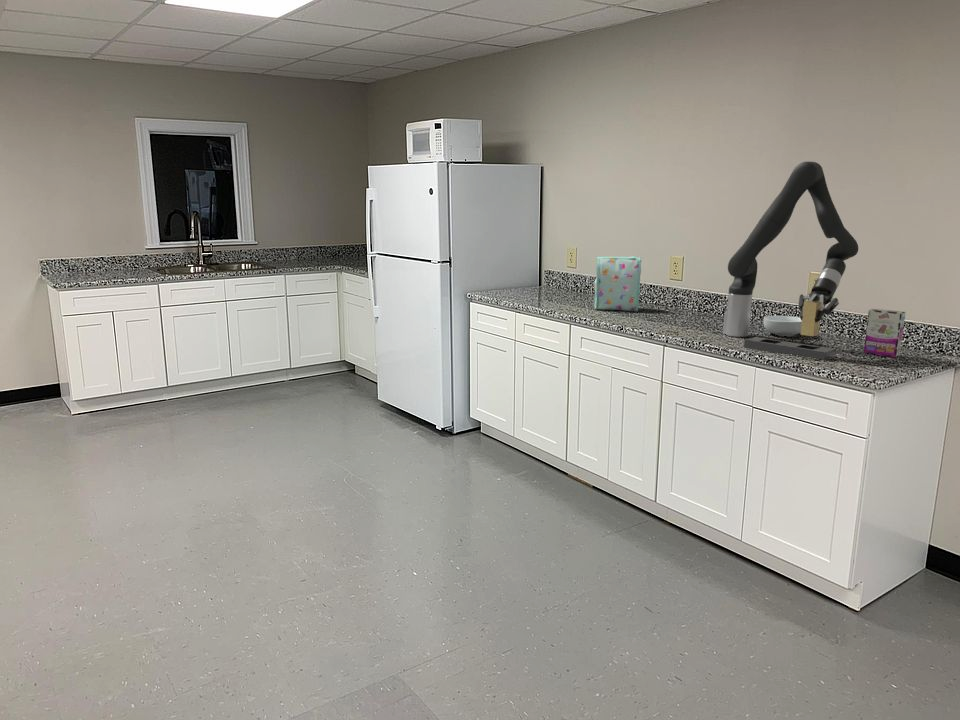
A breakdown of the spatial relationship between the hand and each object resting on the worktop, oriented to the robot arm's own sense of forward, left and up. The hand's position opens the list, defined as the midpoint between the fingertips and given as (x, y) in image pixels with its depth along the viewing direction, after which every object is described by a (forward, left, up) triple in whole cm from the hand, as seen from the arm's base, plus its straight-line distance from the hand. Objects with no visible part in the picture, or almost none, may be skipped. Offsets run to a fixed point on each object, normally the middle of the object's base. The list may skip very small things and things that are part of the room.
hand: (808, 319), depth 262 cm
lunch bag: (-114, +41, -13) cm, 122 cm away
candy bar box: (+17, +26, -13) cm, 34 cm away
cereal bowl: (-25, +37, -13) cm, 47 cm away
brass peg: (0, +2, -6) cm, 6 cm away
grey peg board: (-7, +2, -13) cm, 15 cm away
